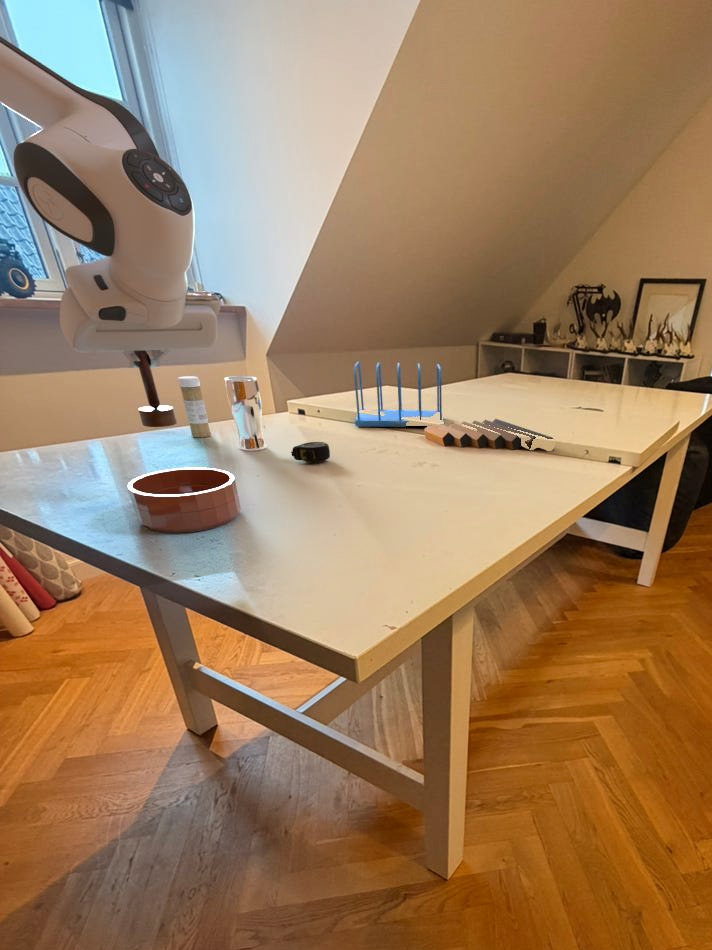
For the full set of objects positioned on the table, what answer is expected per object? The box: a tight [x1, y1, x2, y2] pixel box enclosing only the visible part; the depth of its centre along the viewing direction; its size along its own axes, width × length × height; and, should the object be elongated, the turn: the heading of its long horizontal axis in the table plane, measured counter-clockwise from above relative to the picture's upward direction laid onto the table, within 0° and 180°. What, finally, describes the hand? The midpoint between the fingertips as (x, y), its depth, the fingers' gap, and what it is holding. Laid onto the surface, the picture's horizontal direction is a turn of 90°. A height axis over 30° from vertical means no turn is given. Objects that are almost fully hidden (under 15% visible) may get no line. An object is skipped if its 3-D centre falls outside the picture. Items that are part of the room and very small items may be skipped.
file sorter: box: [353, 361, 443, 428], centre depth 155 cm, size 25×17×15 cm
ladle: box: [135, 350, 178, 428], centre depth 84 cm, size 5×5×16 cm
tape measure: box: [290, 441, 331, 463], centre depth 119 cm, size 7×7×4 cm
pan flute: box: [423, 418, 554, 451], centre depth 140 cm, size 25×3×25 cm
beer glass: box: [224, 375, 268, 452], centre depth 124 cm, size 7×7×15 cm
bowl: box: [127, 467, 242, 534], centre depth 87 cm, size 15×15×6 cm
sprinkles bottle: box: [177, 375, 212, 438], centre depth 132 cm, size 5×5×14 cm
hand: (141, 363), depth 84 cm, fingers closed on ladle
